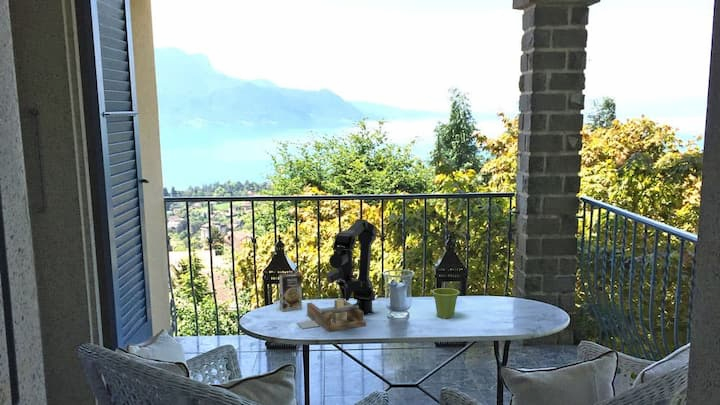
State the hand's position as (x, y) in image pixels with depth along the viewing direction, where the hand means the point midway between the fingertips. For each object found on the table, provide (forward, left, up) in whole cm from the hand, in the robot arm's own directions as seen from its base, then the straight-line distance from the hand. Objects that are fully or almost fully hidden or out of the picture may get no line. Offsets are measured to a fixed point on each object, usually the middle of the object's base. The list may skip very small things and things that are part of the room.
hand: (345, 299), depth 244 cm
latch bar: (0, -7, -6) cm, 9 cm away
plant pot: (-46, +5, -12) cm, 48 cm away
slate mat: (+13, -10, -12) cm, 20 cm away
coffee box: (+12, -35, -12) cm, 39 cm away
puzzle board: (0, -11, -12) cm, 16 cm away
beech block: (0, -7, -12) cm, 14 cm away
